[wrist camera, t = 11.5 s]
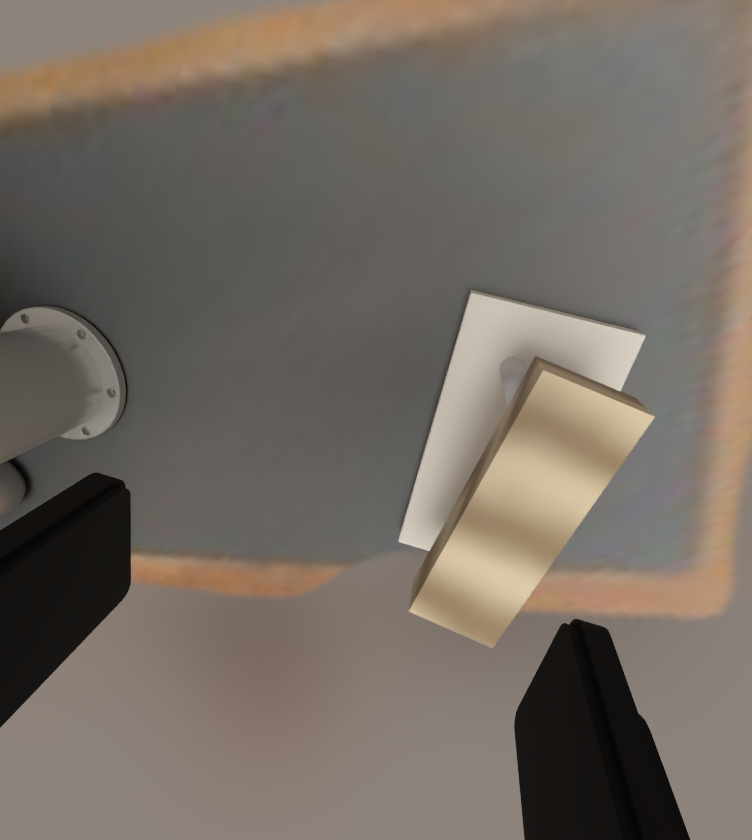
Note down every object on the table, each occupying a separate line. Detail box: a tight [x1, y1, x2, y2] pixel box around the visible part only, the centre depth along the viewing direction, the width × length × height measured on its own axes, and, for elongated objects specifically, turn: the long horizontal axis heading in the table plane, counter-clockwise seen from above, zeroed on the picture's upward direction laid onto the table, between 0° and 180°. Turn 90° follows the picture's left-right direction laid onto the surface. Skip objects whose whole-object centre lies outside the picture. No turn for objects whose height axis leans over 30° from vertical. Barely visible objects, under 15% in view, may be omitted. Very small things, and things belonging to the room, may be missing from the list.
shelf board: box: [409, 356, 655, 648], centre depth 28 cm, size 18×6×3 cm, turn 159°
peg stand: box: [398, 290, 646, 551], centre depth 33 cm, size 12×22×9 cm, turn 167°
